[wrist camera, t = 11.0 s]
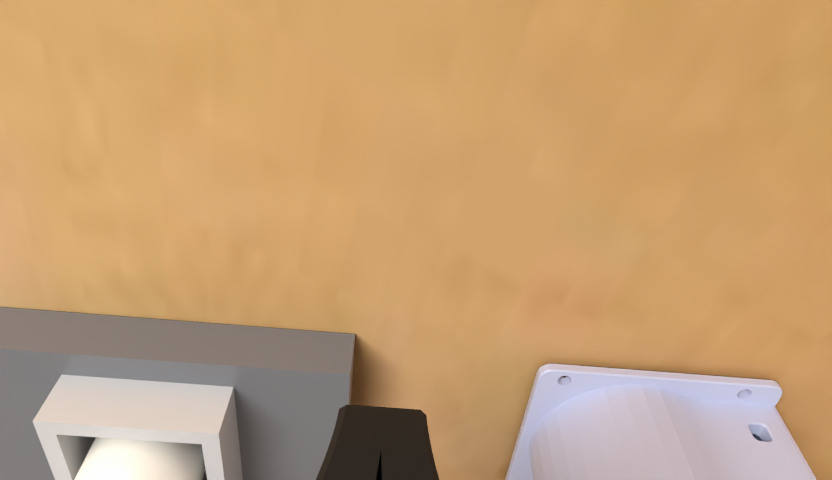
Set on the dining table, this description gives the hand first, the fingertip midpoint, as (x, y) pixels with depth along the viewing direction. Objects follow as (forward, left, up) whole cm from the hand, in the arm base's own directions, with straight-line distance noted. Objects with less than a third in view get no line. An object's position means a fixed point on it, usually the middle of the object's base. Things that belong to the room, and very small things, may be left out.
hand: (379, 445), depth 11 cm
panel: (+8, +18, -10) cm, 22 cm away
